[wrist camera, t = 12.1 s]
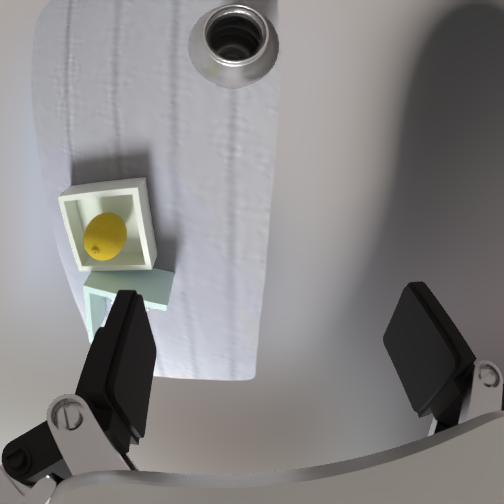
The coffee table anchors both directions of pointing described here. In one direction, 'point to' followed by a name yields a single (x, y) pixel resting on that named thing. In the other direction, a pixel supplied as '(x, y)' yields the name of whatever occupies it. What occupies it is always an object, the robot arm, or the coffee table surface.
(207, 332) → the coffee table surface
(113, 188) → the bin
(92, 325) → the l-shaped corner panel
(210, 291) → the coffee table surface
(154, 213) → the coffee table surface
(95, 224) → the lemon
